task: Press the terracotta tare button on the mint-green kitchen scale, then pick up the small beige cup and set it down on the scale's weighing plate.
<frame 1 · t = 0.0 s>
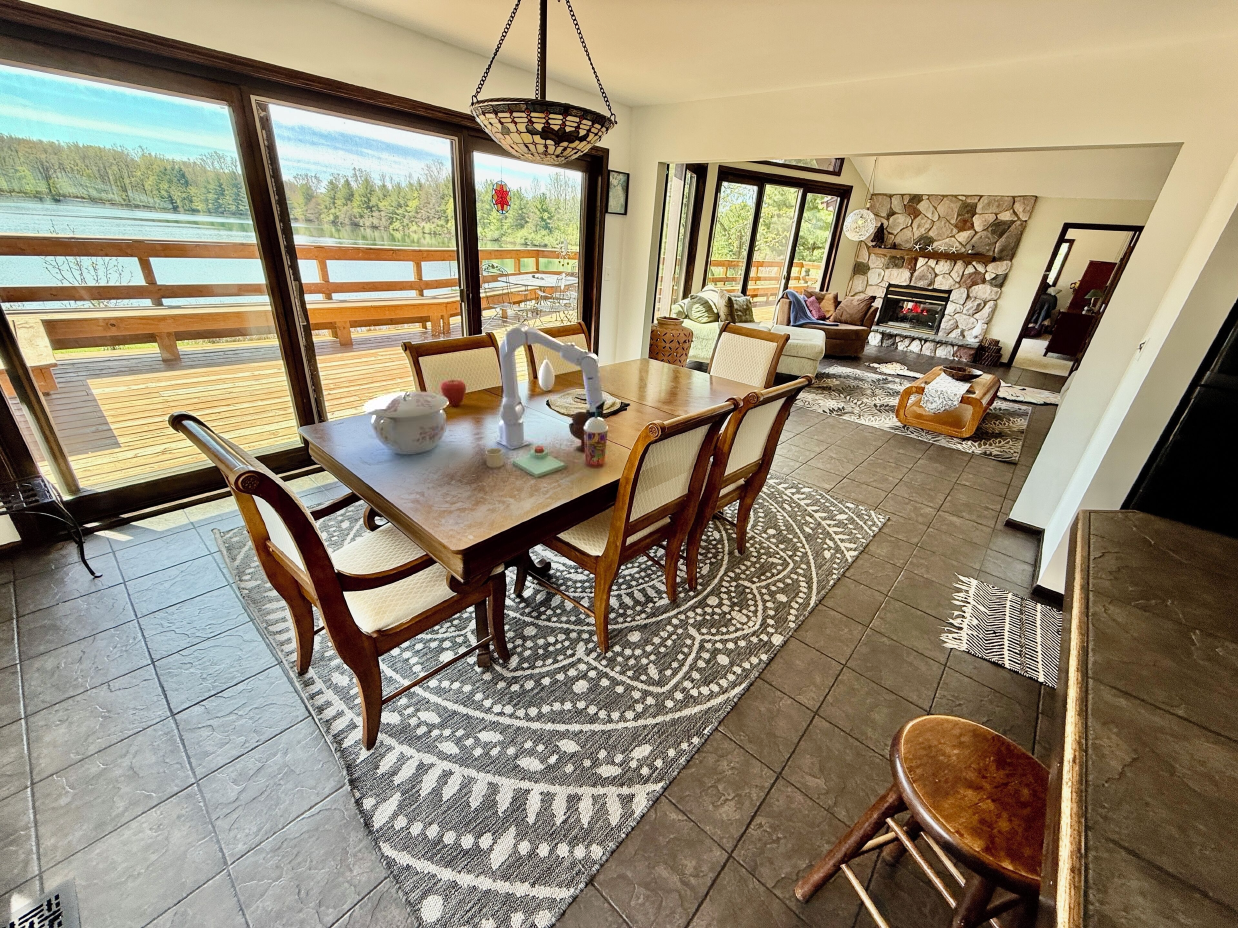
hand: (598, 424, 174), 11 cm above the table, tool pointing down, fingers open, 7 cm apart
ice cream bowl: (583, 449, 180), on the table
apple: (455, 405, 218), on the table
smoothie: (594, 464, 169), on the table
beige cup: (495, 464, 164), on the table
chamber pot: (413, 447, 174), on the table
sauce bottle: (546, 390, 244), on the table
scale: (538, 465, 165), on the table
tare button: (539, 449, 169), point 4 cm above the table, slide at 0.1 cm
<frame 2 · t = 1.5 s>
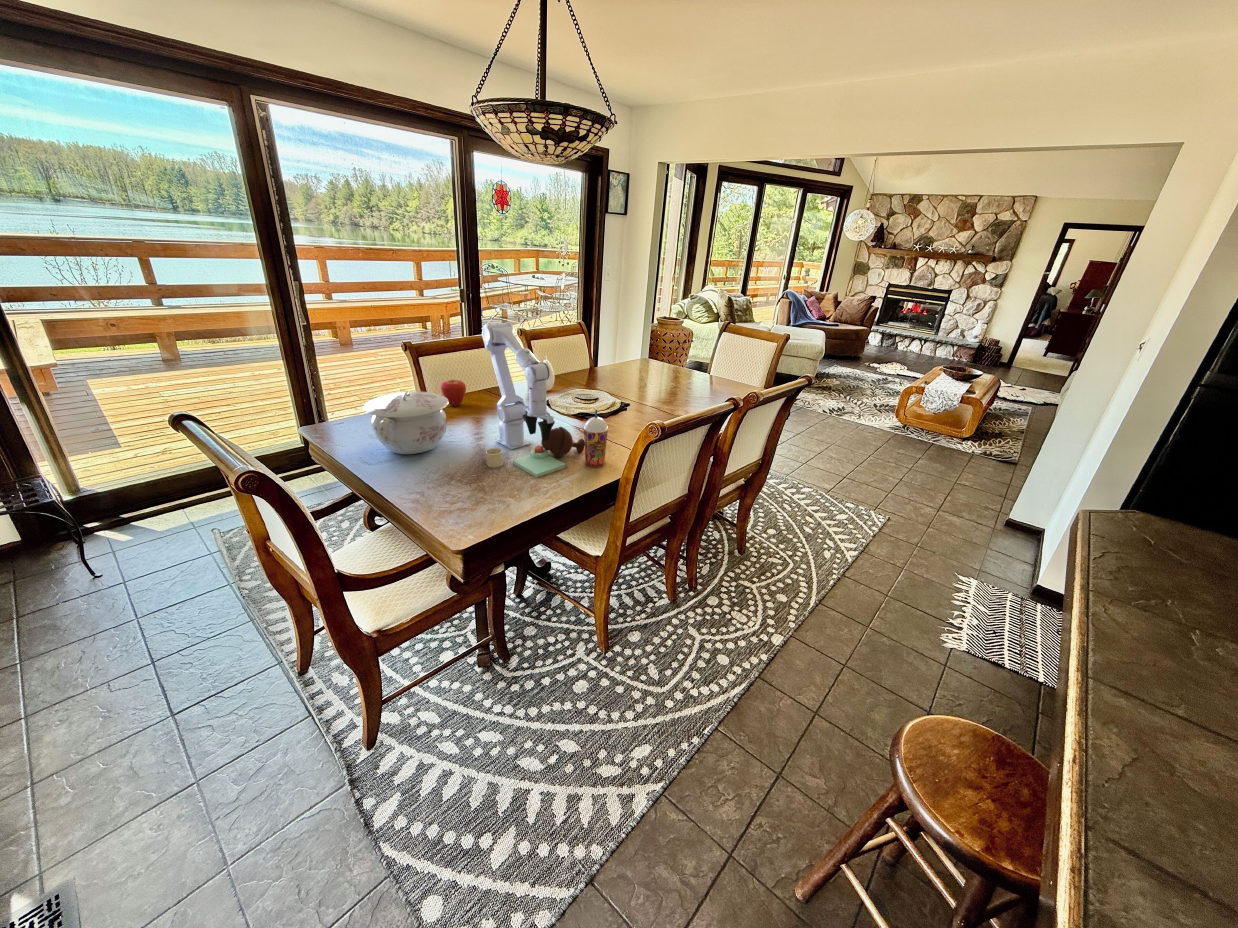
hand: (538, 436, 167), 8 cm above the table, tool pointing down, fingers open, 7 cm apart
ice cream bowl: (581, 446, 176), point 2 cm above the table, touching scale
everything else where it was.
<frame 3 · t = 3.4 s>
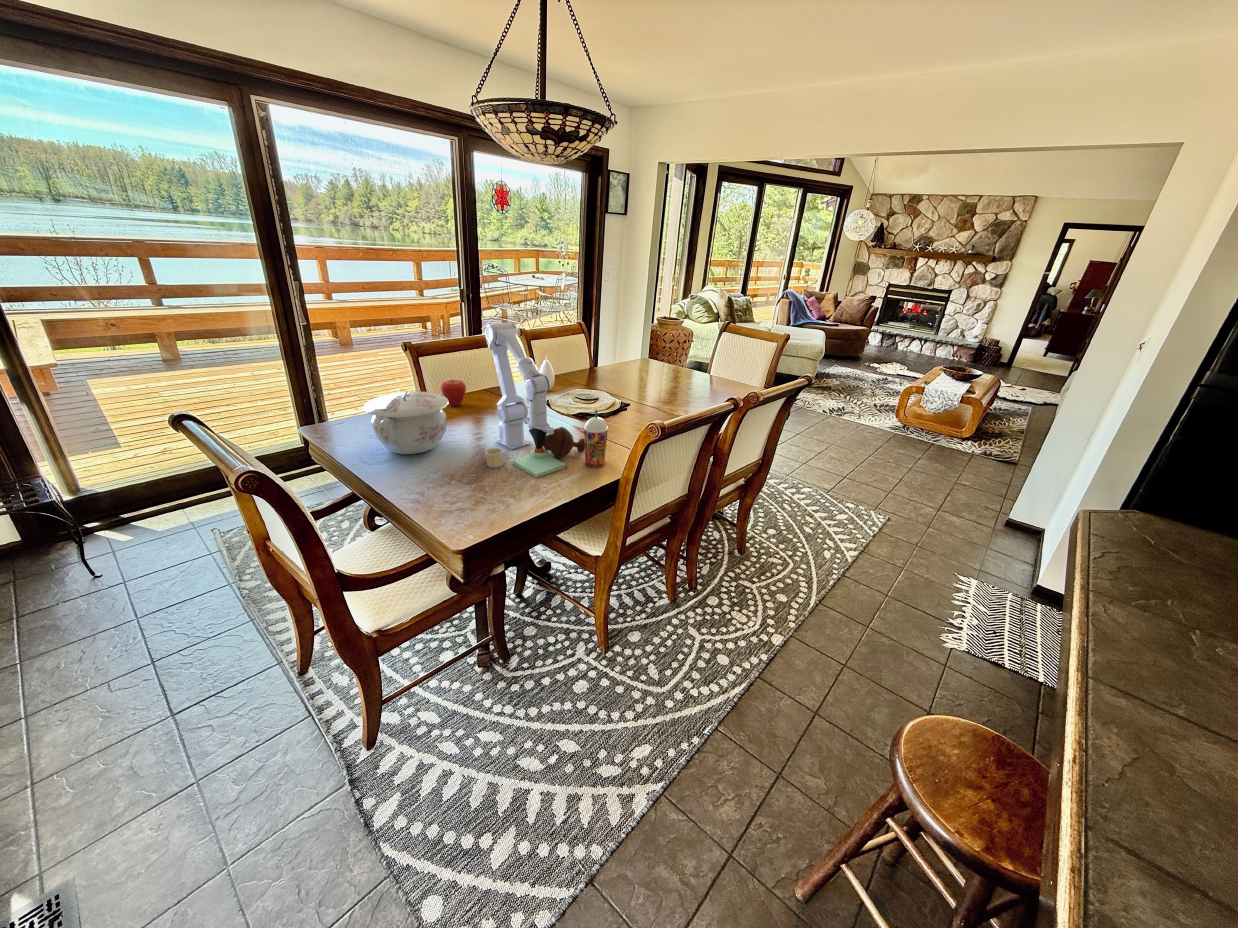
hand: (539, 448, 168), 4 cm above the table, tool pointing down, fingers closed, pressing on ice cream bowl, tare button
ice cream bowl: (582, 445, 176), point 3 cm above the table, touching gripper, scale
tare button: (539, 449, 169), point 3 cm above the table, slide at 0.1 cm, touching gripper
everything else where it was.
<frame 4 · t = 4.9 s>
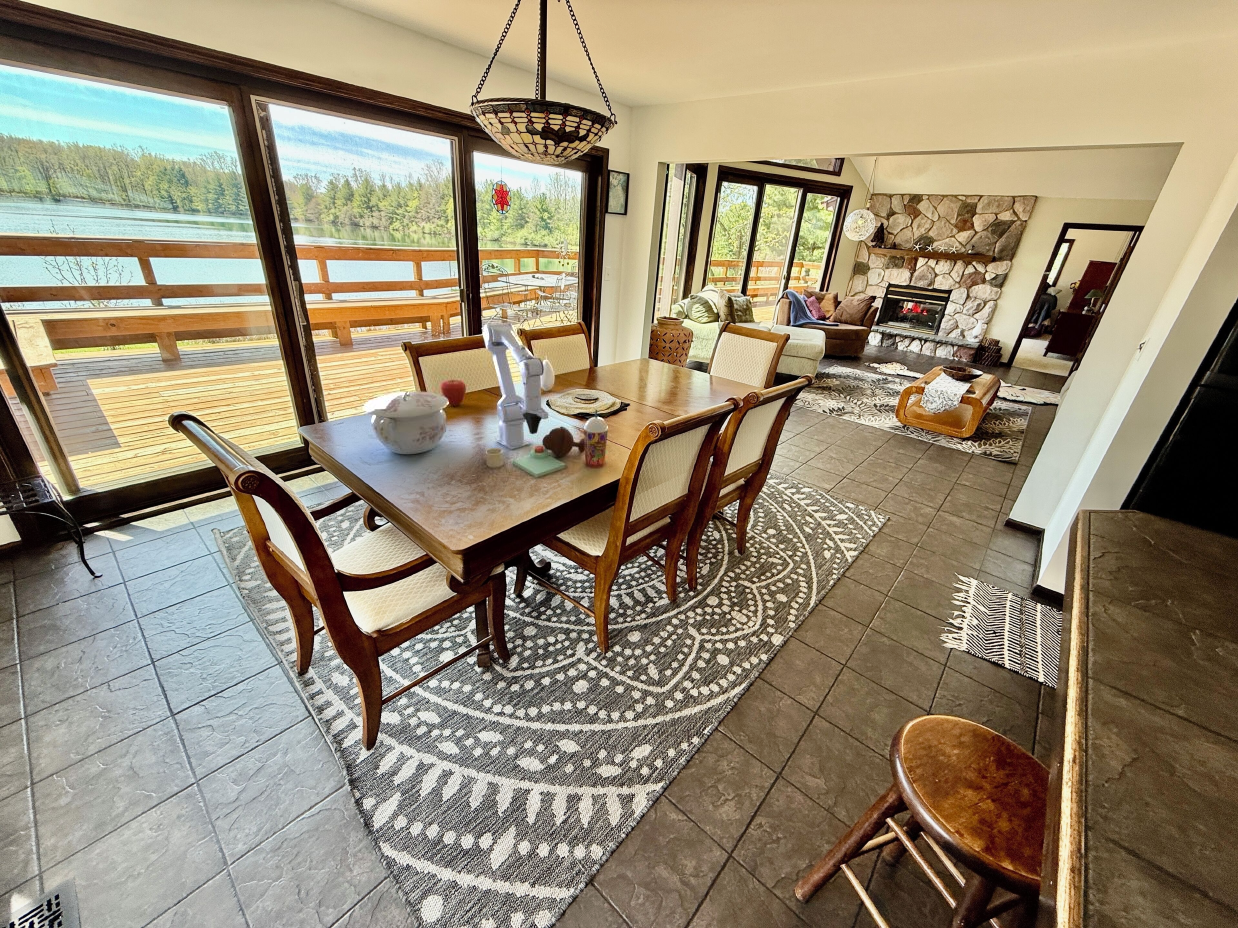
hand: (533, 433, 165), 10 cm above the table, tool pointing down, fingers closed
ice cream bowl: (583, 445, 176), point 3 cm above the table, touching scale
tare button: (539, 449, 169), point 4 cm above the table, slide at 0.1 cm
everything else where it was.
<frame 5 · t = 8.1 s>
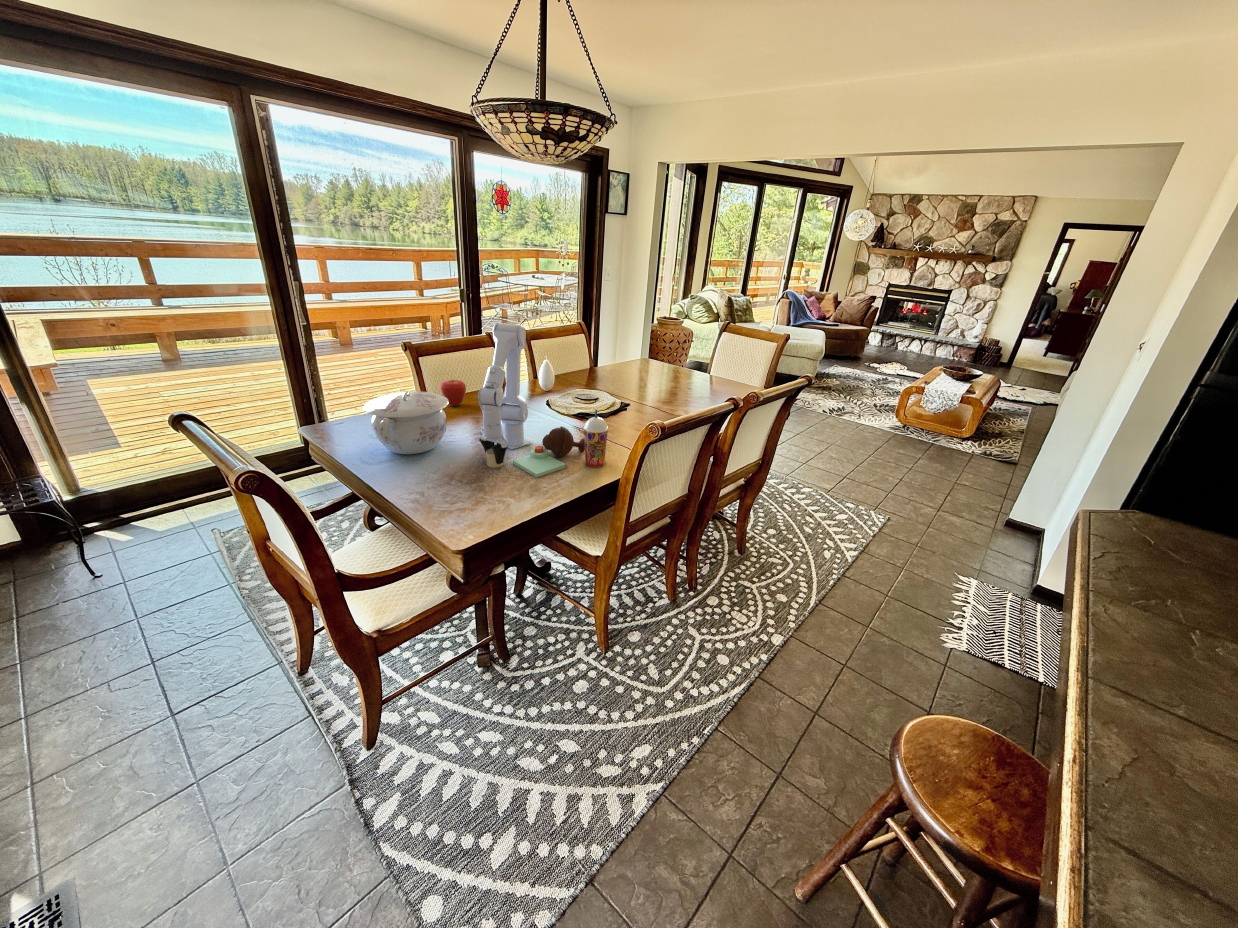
hand: (494, 460, 164), 2 cm above the table, tool pointing down, fingers closed on beige cup, 5 cm apart
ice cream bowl: (583, 445, 176), point 3 cm above the table
beige cup: (495, 464, 164), on the table, touching gripper
everything else where it was.
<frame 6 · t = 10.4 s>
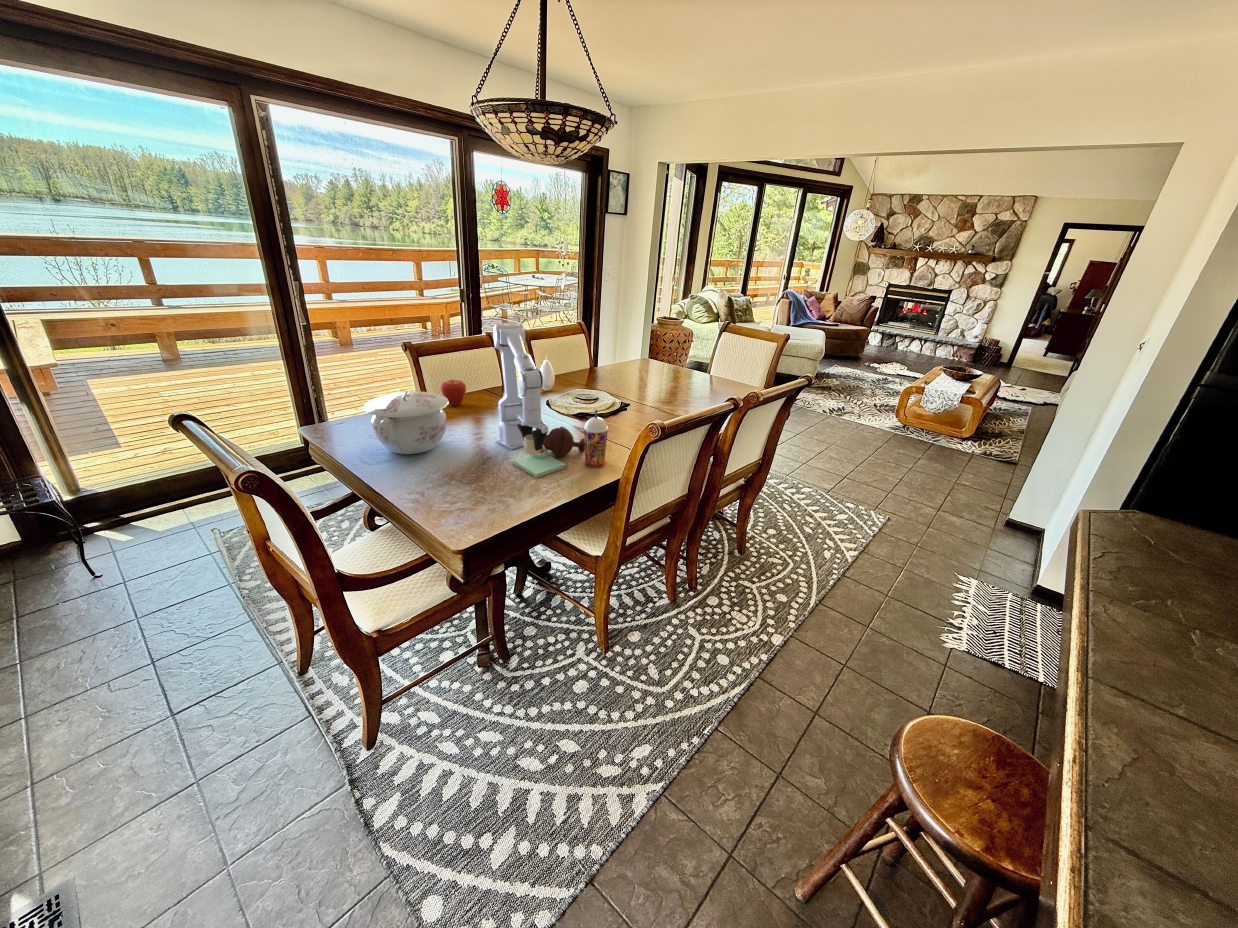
hand: (533, 446, 159), 8 cm above the table, tool pointing down, fingers closed on beige cup, 5 cm apart
beige cup: (533, 451, 159), point 7 cm above the table, touching gripper
everything else where it was.
when the fingers open (3 cm above the table, at t = 12.8 s): beige cup stays where it is, resting on scale.
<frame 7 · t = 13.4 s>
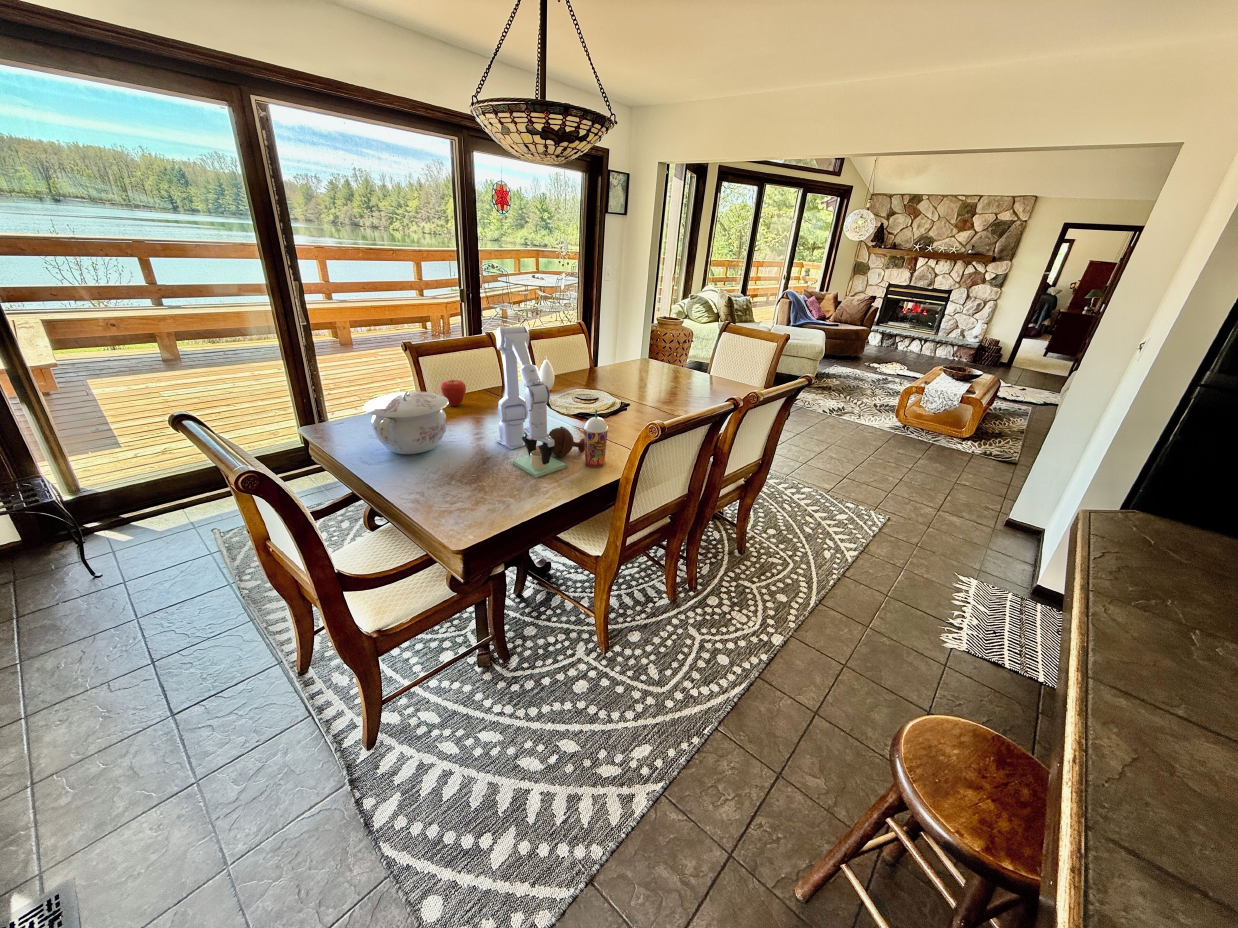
hand: (539, 459, 160), 4 cm above the table, tool pointing down, fingers open, 7 cm apart
beige cup: (539, 466, 161), point 1 cm above the table, touching scale
everything else where it was.
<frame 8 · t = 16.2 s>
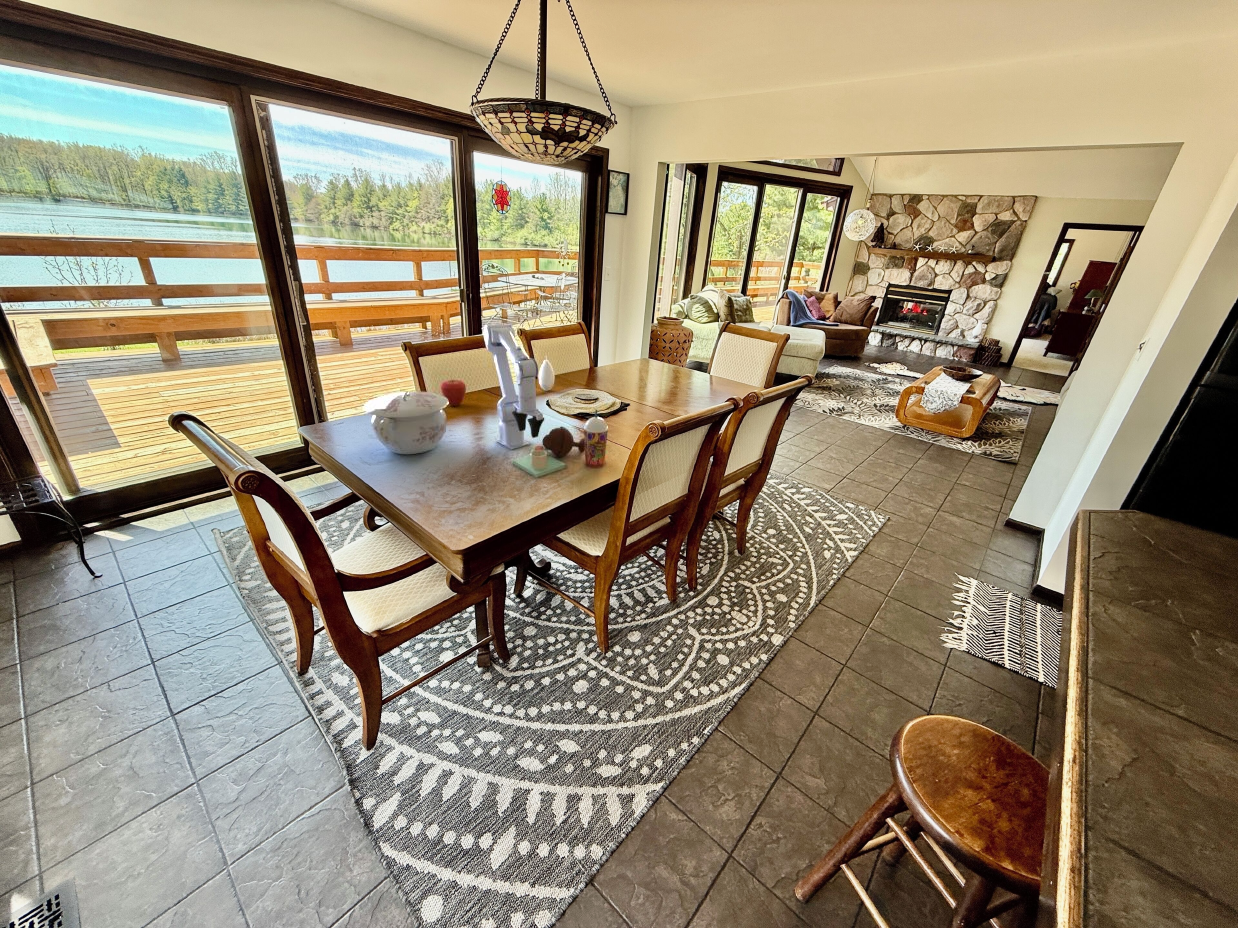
hand: (528, 433, 166), 9 cm above the table, tool pointing down, fingers open, 7 cm apart
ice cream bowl: (583, 445, 176), point 3 cm above the table, touching scale
everything else where it was.
at the end: tare button pushed in 0.7 cm at the most during the clip, back to where it started at the end; beige cup inside the target area on the scale (3.0 cm from its centre), point 1.4 cm above the scale's base; beige cup touching scale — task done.
